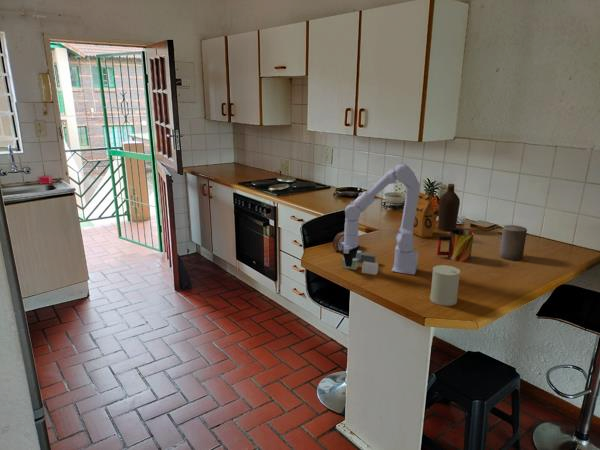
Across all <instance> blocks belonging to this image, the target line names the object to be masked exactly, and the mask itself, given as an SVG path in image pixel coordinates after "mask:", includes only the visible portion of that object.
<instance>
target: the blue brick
mask: <svg viewBox="0 0 600 450" xmlns="http://www.w3.org/2000/svg"><path fill="white" fill-rule="evenodd" d="M362 253H363V252H362V250H358V251H357V253H356V257H355V258H357V259H358V262H361V254H362Z"/></svg>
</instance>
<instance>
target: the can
mask: <svg viewBox="0 0 600 450" xmlns="http://www.w3.org/2000/svg"><path fill="white" fill-rule="evenodd" d="M460 275H461V270H460V269H459V268H457V267H455V266H451V265H446V264H439V265H435V266H433V267H432V277H431V288H430V296H429V300H430V302H433V303H434V304H435V305H438V306H444V307H445V306H446V307H449V306H455V305H456V304H457V302H458V292H459V283H460Z"/></svg>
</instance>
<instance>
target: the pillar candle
mask: <svg viewBox="0 0 600 450" xmlns="http://www.w3.org/2000/svg"><path fill="white" fill-rule="evenodd" d="M527 232H528V229H527V228H526V227H524V226H522V225H521V226H520V225H513V224H507V225H504V226H503V227H502V233H501V234H502V235H501V241H500V249H499V257H500V258H503V259H506V260H510V261H522V260H523V259H524V252H525V247H526V246H525V245H526V238H527Z"/></svg>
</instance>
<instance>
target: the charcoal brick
mask: <svg viewBox="0 0 600 450" xmlns="http://www.w3.org/2000/svg"><path fill="white" fill-rule="evenodd" d="M364 261H365V262H372V263H377V254H376V253H366V252H362V253H361V260H360V264H362V263H363V262H364Z"/></svg>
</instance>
